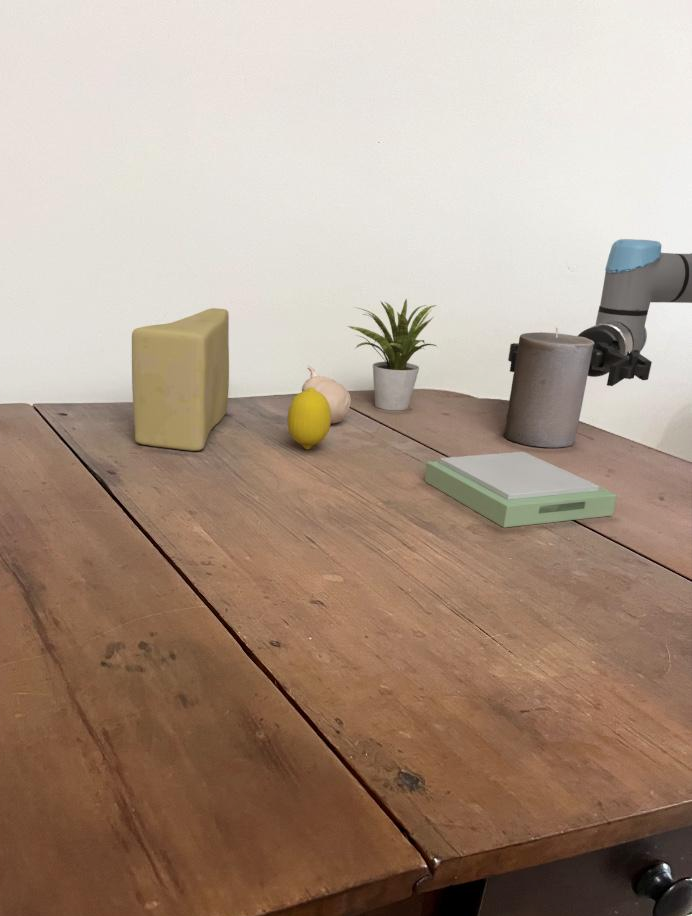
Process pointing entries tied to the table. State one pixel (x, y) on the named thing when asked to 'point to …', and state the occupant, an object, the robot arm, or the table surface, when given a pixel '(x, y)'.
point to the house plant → (396, 357)
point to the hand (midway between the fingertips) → (561, 368)
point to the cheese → (180, 380)
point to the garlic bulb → (330, 394)
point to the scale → (518, 489)
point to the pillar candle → (548, 389)
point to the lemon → (309, 418)
